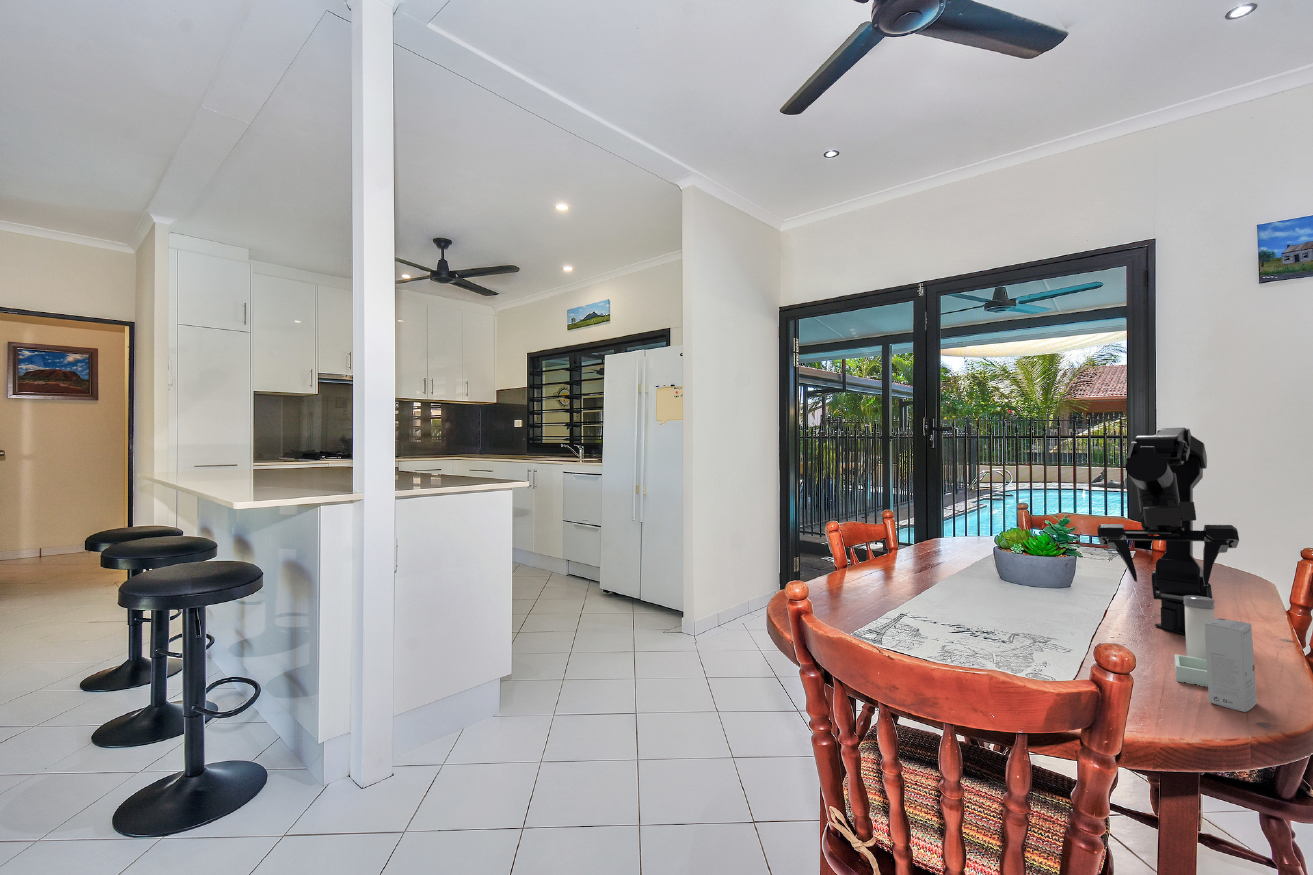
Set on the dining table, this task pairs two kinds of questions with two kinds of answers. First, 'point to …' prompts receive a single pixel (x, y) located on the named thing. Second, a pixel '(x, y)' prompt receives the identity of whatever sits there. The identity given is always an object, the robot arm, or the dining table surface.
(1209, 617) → the cylinder
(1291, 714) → the dining table surface
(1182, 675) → the tray
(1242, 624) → the skincare box
